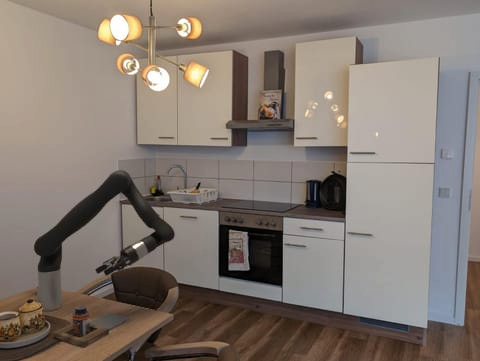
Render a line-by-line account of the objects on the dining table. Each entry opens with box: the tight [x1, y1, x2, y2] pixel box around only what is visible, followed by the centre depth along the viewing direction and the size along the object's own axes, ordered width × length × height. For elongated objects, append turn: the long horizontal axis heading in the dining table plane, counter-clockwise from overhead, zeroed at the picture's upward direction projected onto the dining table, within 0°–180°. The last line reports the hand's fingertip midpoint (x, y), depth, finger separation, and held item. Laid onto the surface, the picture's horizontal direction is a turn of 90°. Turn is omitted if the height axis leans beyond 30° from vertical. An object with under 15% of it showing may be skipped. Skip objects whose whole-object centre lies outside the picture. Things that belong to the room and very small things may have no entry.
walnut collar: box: [52, 323, 110, 348], centre depth 154 cm, size 16×12×2 cm
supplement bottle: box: [72, 304, 91, 338], centre depth 153 cm, size 6×6×11 cm
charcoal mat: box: [90, 312, 131, 331], centre depth 166 cm, size 12×12×1 cm
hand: (100, 272), depth 163 cm, fingers open, 8 cm apart
